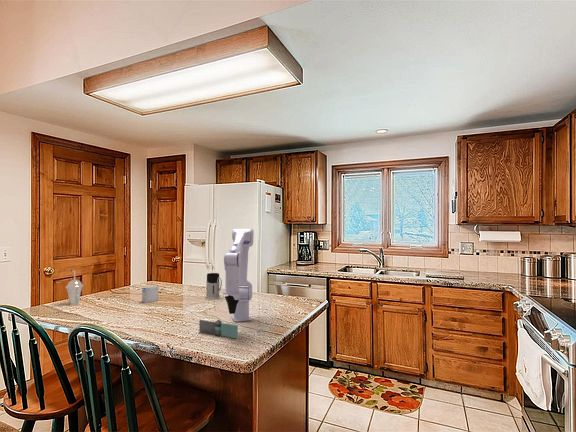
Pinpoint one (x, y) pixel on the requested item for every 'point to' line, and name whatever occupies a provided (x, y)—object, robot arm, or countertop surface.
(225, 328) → the teal swing leaf
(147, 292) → the medicine box
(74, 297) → the cup with straw
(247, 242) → the robot arm
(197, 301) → the countertop surface
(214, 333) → the fixed steel leaf
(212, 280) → the grey container
